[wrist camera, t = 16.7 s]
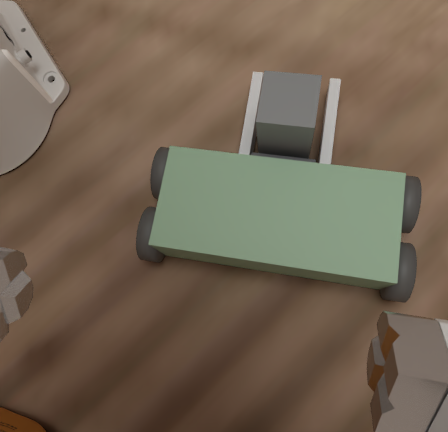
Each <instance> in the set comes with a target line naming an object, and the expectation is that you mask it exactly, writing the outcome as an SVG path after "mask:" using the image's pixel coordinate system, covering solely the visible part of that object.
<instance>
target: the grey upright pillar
mask: <svg viewBox="0 0 448 432" xmlns="http://www.w3.org/2000/svg"><path fill="white" fill-rule="evenodd" d="M321 78H322V75H310V74H298V73H286V72H274V71H264V77H263V82H262V88H261V94H260V100H259V106H258V112H257V118H256V129H257V140H258V151H259V153H262V154H270V155H279V156H288V157H297V158H305V159H308V158H309V154H310V149H311V144H312V139H313V134H314V130H315V123H316V115H317V108H318V100H319V93H320V85H321Z"/></svg>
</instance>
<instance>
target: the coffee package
mask: <svg viewBox="0 0 448 432" xmlns="http://www.w3.org/2000/svg"><path fill="white" fill-rule="evenodd" d="M0 432H46V431H45V430H44V428H43V427H42V426H41V425H40V424H39V423H37V422H36V421H34V420H31V419H29V418H26V417H24V416H21V415H18V414H16V413H13V412H11V411H9V410H7V409H4V408H1V407H0Z"/></svg>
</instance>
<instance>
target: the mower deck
mask: <svg viewBox="0 0 448 432" xmlns="http://www.w3.org/2000/svg"><path fill="white" fill-rule="evenodd" d="M262 82H263V73H262V72H253V76H252V82H251V87H250V93H249V99H248V104H247V110H246V115H245V121H244V127H243V132H242V138H241V144H240V149H239V154H236V153H228V152H219V151H210V150H202V149H193V148H185V147H176V146H170V148H166V147H160V148H159V149H158V150H157V152H156V154H155V157H154V160H153V163H152V169H151V191H152V194H153V196H154V198H156V199H158V203H157V207H148V208H146V209H145V211H144V212H143V214H142V216H141V219H140V222H139V225H138V230H137V237H136V250H137V255H138V257H139V258H140V259H141V260H147V261H153V262H161V261H162V260H163V258H164V256H165V255H166V256H172V257H178V258H184V259H190V260H197V261H203V262H209V263H215V264H222V265H228V266H234V267H240V268H247V269H253V270H259V271H265V272H272V273H278V274H284V275H290V276H297V277H303V278H309V279H315V280H322V281H328V282H334V283H340V284H347V285H353V286H359V287H365V288H372V289H378V290H379V289H380V294H381V297H382V298H383V299H385V300H392V301H398V302H406V301H407V300H408V299H409V298H410V296H411V293H412V290H413V287H414V283H415V277H416V267H417V260H416V251H415V248H414V246H413V245H412V244H410V243H403V242H401V233H410V232H411V231H412V229H413V228H414V226H415V223H416V221H417V218H418V214H419V209H420V204H421V183H420V180H419V178H418V177H413V176H406V173H400V172H391V171H383V170H374V169H365V168H357V167H348V166H340V165H331V157H332V149H333V140H334V132H335V124H336V116H337V107H338V99H339V91H340V83H341V79H333V78H330V82H329V86H328V91H327V95H326V103H325V111H324V118H323V126H322V134H321V142H320V149H319V157H318V163H316V160H314V159H305V158H297V157H288V156H279V155H270V154H262V153H253V152H254V146H255V140H256V134H257V129H256V118H257V112H258V106H259V100H260V94H261V88H262Z"/></svg>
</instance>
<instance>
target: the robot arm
mask: <svg viewBox="0 0 448 432" xmlns="http://www.w3.org/2000/svg"><path fill="white" fill-rule="evenodd" d="M54 79H55V80H54ZM52 80H54V81H53V82H52ZM69 89H70V88H69V84H68V82H67V81H66V79H65V77H64V76H63V74H62V73H61V71H60V69H59V68H58V66H57V65H56V63H55V61H54V60H53V58H52V57H51V55H50V53H49V52H48V50H47V49H46V47H45V45H44V44H43V42H42V41H41V39H40V37H39V36H38V34H37V33H36V31H35V29H34V28H33V26H32V24H31V23H30V21H29V20H28V18H27V16H26V15H25V13H24V12H23V10H22V9H21V8H20V6H19V5H18V4H17V3H15V2H14V1H8V0H0V175H1V174H4V173H6V172H8V171H11V170H12V169H14V168H16V167H18V166H19V165H20V164H22V163H23V162H24V161H26V160H27V159H28V158H29V157H30V156H31V155H32V154H33V153H34V152H35V151H36V150H37V148H38V147H39V146H40V144H41V143H42V141H43V140H44V138H45V136H46V134H47V132H48V129H49V127H50V124H51V121H52V118H53V115H54V113H55V111H56V109H57V108H58V107H59V106H60V104H61V103H62V102H63V101H64V99H65V98H66V96H67V95H68V93H69ZM26 266H27V262H26V259H25V256H24V253H22V252H20V251H18V250H13V249H8V248H2V247H0V342H1V341H2V339H3V338H4V337H5V336H6V335H7V334H8V332H9V323H12V322H14V321H16V320H18V319H20V318H21V317H22V316H23V315H24V313H25V312H26V311H27V310H28V308H29V306H30V303H31V301H32V298H33V284H32V280H31V279H30V278H29V276H28V275H27V274H26V273H25V272H24V269H25V268H26ZM377 329H378V336H377V337H375V338H373V339H372V341H371V344H370V347H369V351H368V358H367V380H368V385H369V386H370V388H371V389H372V390H373V391H374V394H373V397H372V400H371V403H370V407H371V415H372V424H373V432H448V320H441V319H432V318H426V317H419V316H413V315H407V314H400V313H394V312H388V311H383V312H382V313H381V315H380V317H379V319H378V322H377Z"/></svg>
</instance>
